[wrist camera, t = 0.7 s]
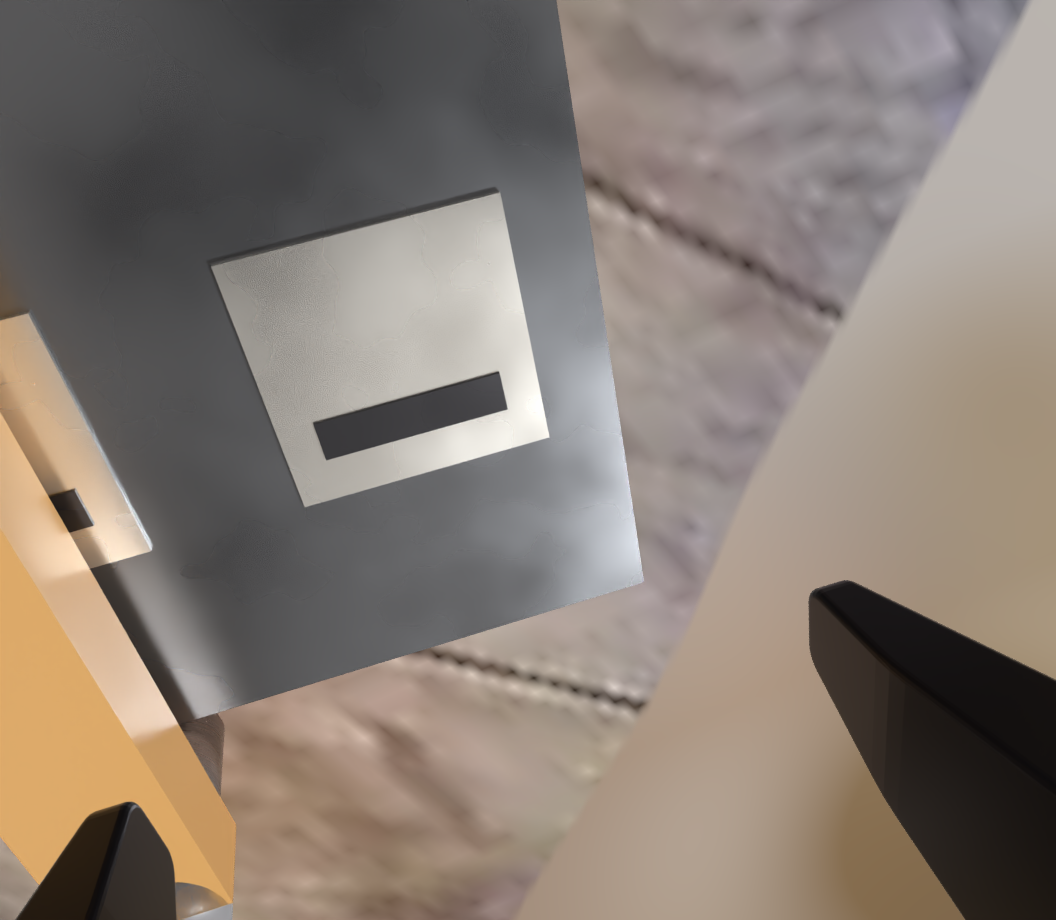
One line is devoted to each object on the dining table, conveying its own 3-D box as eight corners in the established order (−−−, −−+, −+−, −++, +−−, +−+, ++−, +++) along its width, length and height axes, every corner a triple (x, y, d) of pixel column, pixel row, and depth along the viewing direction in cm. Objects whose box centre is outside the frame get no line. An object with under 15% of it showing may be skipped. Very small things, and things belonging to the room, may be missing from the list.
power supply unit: (624, 625, 26) (664, 707, 23) (47, 804, 24) (18, 915, 21) (495, -125, 16) (538, -134, 13) (-480, 89, 14) (-652, 127, 12)
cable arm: (257, 860, 22) (255, 938, 20) (131, 901, 22) (119, 984, 20) (-172, 111, 13) (-242, 139, 11) (-403, 164, 12) (-511, 202, 11)
